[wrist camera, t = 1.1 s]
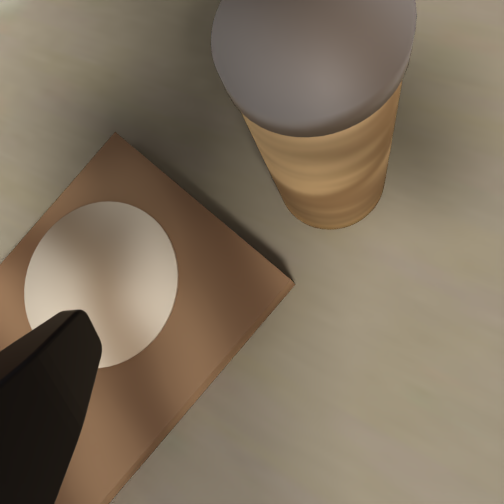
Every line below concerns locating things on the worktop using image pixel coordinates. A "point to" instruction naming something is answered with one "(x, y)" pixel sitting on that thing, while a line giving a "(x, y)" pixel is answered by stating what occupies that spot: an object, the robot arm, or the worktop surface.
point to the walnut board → (136, 305)
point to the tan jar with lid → (318, 95)
